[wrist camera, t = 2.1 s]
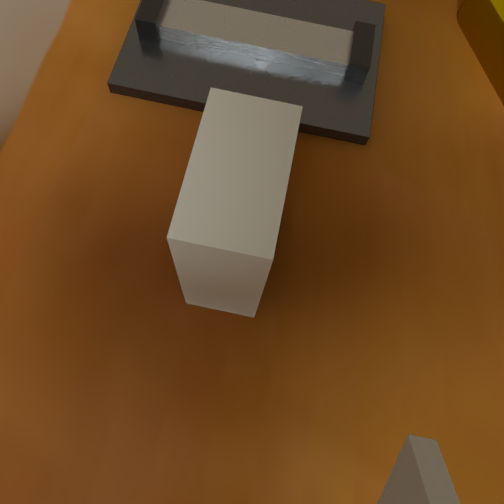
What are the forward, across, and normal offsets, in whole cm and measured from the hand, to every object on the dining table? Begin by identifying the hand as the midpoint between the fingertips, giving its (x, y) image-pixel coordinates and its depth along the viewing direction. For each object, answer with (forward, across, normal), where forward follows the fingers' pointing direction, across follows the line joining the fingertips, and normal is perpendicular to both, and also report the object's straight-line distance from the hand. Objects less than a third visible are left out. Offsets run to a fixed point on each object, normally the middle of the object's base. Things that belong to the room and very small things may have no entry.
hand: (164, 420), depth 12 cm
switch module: (+18, 0, -3) cm, 18 cm away
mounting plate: (+31, -2, +10) cm, 32 cm away
